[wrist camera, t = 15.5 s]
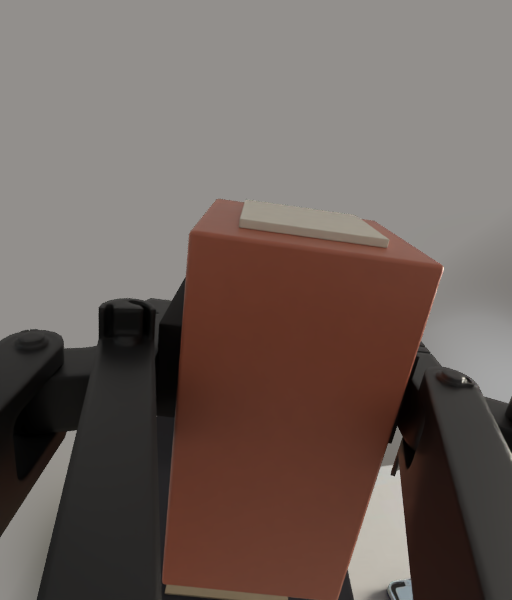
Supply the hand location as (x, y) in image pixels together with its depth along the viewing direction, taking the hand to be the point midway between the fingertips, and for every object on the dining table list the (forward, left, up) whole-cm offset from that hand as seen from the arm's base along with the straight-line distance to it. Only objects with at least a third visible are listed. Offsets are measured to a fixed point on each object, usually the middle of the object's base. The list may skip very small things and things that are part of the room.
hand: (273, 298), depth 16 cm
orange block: (0, -5, -6) cm, 8 cm away
